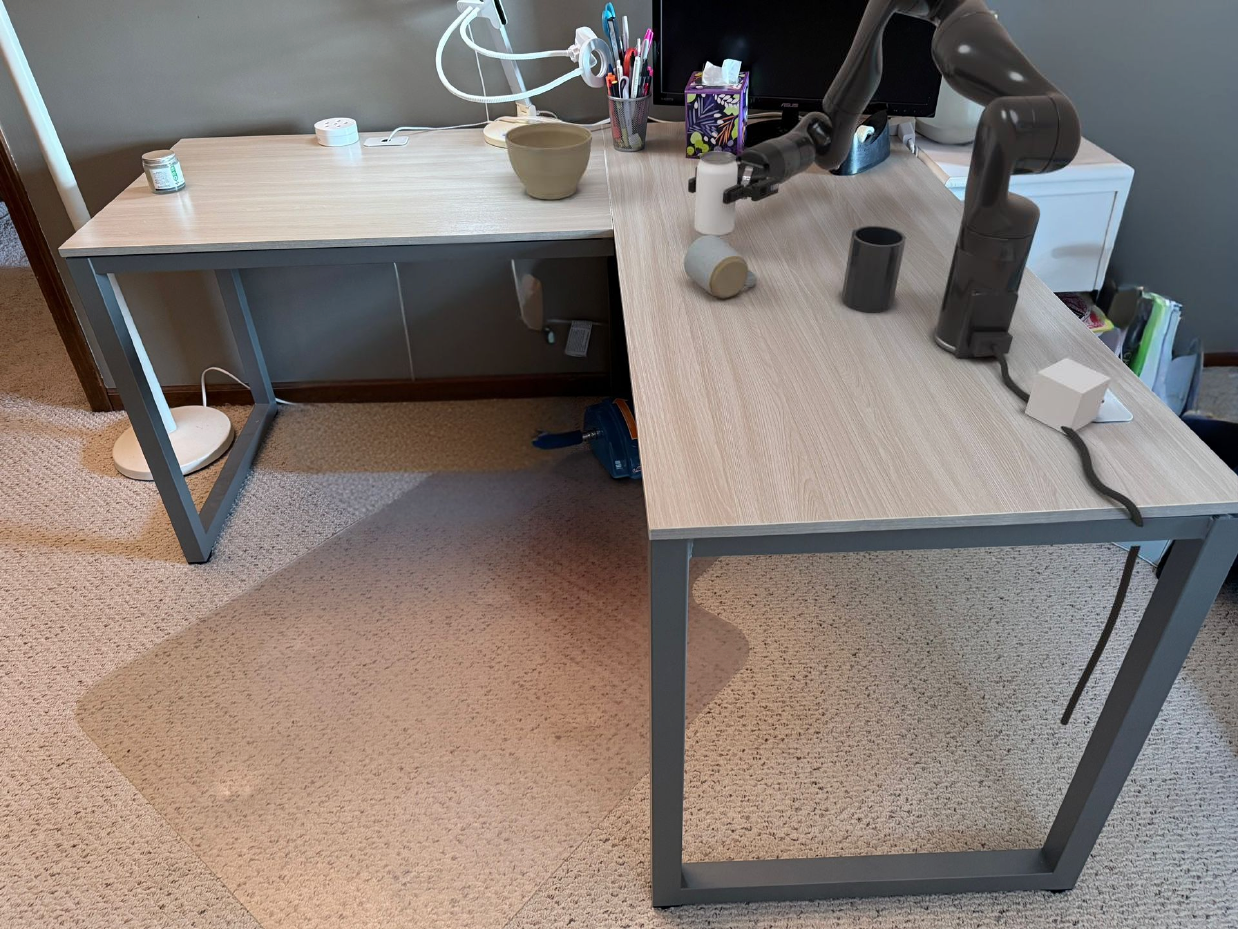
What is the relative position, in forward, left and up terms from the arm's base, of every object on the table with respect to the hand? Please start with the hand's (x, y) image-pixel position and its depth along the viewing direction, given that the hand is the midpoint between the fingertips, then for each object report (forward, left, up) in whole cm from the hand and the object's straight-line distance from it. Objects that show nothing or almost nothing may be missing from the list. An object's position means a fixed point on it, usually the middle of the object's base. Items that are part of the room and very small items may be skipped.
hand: (707, 192), depth 145 cm
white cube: (-49, -39, -11) cm, 64 cm away
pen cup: (-17, -23, -11) cm, 31 cm away
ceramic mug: (-11, -2, -11) cm, 16 cm away
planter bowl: (+31, +26, -11) cm, 42 cm away
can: (+2, -2, -7) cm, 8 cm away
